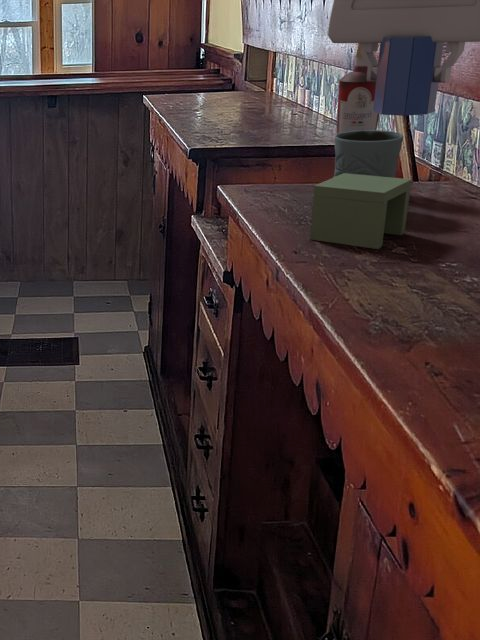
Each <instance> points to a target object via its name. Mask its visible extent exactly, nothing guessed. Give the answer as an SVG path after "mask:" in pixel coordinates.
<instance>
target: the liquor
mask: <svg viewBox="0 0 480 640" xmlns="http://www.w3.org/2000/svg"><path fill="white" fill-rule="evenodd" d="M360 48H361V43H357V50H356V55H355V59H354V66H353V70H352V71H351V72H348V73H346V74H344V75H343V76H342V77H341V78H340V79H339V80H338V93H337V94H338V98H337V111H336V112H337V113H336V115H337V116H336V134H338V133H342V132H346V131H354V130H378V125H379V121H380V120H379V119H380V115H381V114H378V113H374V112H373V107H374V98H375V89H376V81H367V69H368V67H367V66H366V64H365V62H364V60H363V58H362V56H361V54H360ZM334 177H335V176H334V175H333V177H332V178H334Z"/></svg>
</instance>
